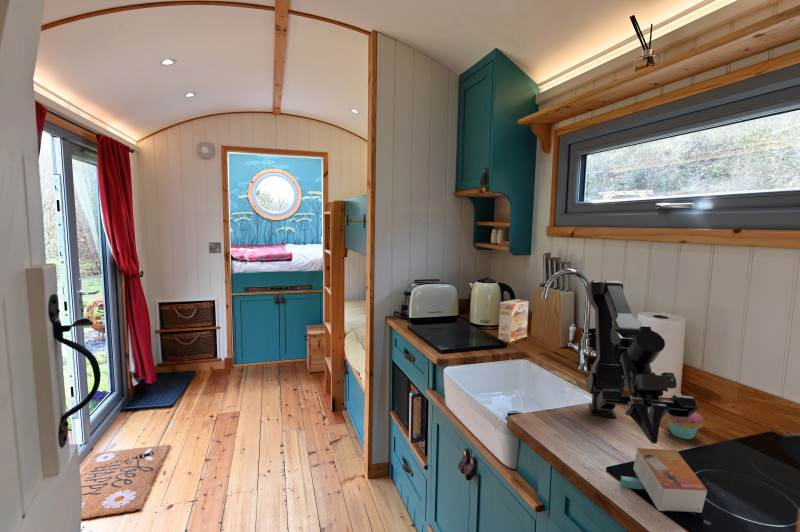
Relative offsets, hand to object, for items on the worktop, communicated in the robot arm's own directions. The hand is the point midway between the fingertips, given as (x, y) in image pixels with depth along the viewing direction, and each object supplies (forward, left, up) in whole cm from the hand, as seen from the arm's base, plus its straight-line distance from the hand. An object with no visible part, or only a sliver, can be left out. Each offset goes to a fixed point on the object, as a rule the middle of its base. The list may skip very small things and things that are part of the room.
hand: (654, 443), depth 84 cm
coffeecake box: (-105, -33, -9) cm, 111 cm away
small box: (-1, 0, -4) cm, 4 cm away
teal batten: (+2, 0, -9) cm, 9 cm away
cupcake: (-27, +14, -9) cm, 32 cm away
